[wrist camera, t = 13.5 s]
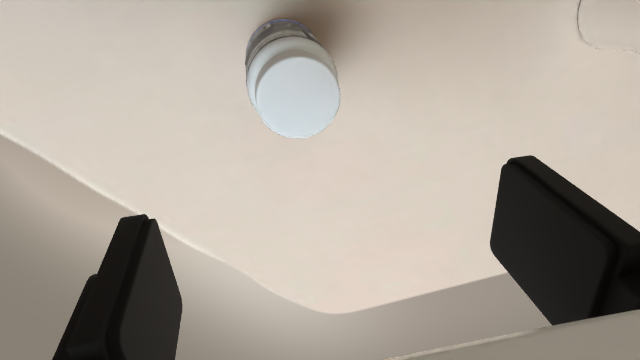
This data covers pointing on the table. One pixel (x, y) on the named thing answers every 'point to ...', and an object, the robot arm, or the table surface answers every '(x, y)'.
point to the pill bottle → (291, 79)
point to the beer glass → (610, 24)
